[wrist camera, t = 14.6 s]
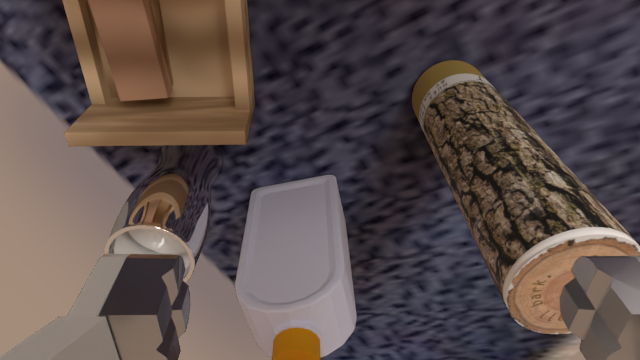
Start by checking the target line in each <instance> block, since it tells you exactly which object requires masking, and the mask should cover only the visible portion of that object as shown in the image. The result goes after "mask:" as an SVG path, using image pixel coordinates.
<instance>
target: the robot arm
mask: <svg viewBox="0 0 640 360" xmlns="http://www.w3.org/2000/svg"><path fill="white" fill-rule="evenodd" d="M185 270H186V269H185V265H184V260H183V257H182V256H180V255H157V254H105V255H103V256H102V257H101V258H100V259H99V260H98V262H97V264H96V265H95V267H94V269H93V271H92V272H91V274H90V276H89V278H88V280H87V281H86V283H85V285H84V287H83V288H82V290H81V292H80V294H79V296H78V297H77V299H76V301H75V303H74V305H73V306H72V308H71V310H70V312H69V314H68V315H67V317H57V318H56V319H55V320H53V321H52V322H50V323H49V324H47V325H46V326H44V327H43V328H41V329H40V330H39V331H37V332H36V333H34V334H33V335H31V336H30V337H28V338H27V339H25V340H24V341H22V342H21V343H20V344H18V345H17V346H15V347H14V348H12V349H11V350H9V351H8V352H6V353H5V354H3V355H2V356H0V360H178V358H179V354H180V345H179V340H178V338H179V337H180V336H181V335H182V334H183V333H185V332H186V328H187V324H188V320H189V312H190V292H189V286H188V285H187V284H186V283H185V282H184V281H183V276H184V273H185ZM571 272H572V274H573V276H574V279H572V280H571V281H570V282H568V283H567V284H566V285H564V287H563V290H562V292H561V295H560V312H561V315H562V319H563V321H564V323H565V325H566V326H567V328H568V330H569V331H570V332H572V333H573V334H574V335H576V336H577V337H579V338H580V339H581V344H580V351H581V352H582V354H583V355H584V357H585V359H586V360H640V255H632V256H580V257H579V258H578V259H577V260H575V262H574V264H573V266H572V268H571Z"/></svg>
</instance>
